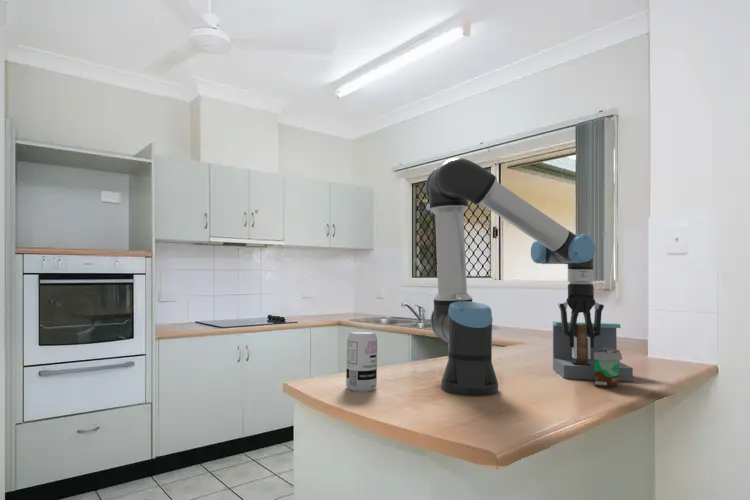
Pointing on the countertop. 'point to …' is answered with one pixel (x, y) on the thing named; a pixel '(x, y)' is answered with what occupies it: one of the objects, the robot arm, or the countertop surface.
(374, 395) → the countertop surface
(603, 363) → the food container
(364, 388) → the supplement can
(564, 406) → the countertop surface
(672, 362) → the countertop surface
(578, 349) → the peg
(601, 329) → the socket
